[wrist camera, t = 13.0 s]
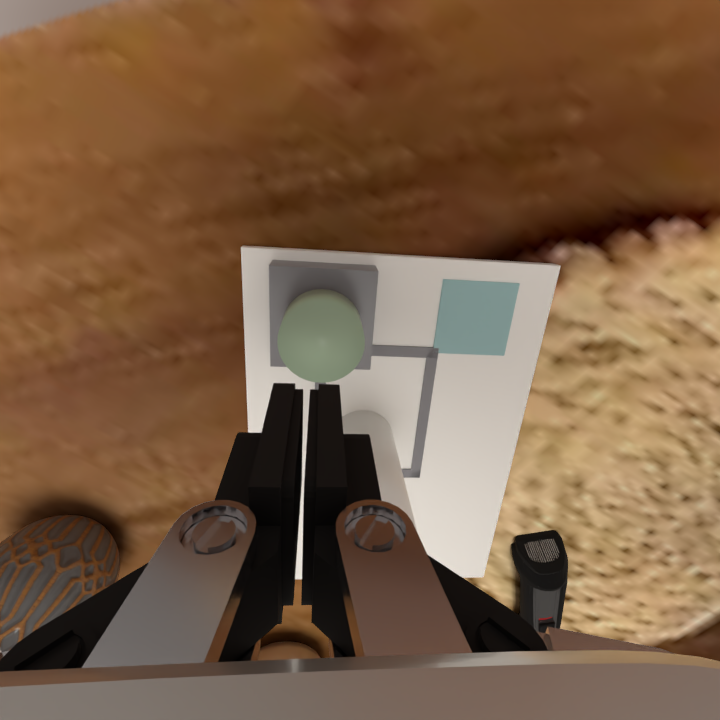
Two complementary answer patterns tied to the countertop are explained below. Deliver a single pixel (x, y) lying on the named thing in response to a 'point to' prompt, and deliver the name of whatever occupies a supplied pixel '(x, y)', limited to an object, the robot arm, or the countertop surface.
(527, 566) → the electric trimmer
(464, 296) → the sheet
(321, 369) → the button
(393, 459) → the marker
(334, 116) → the countertop surface
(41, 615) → the vase
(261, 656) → the plastic bottle
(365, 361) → the button housing
